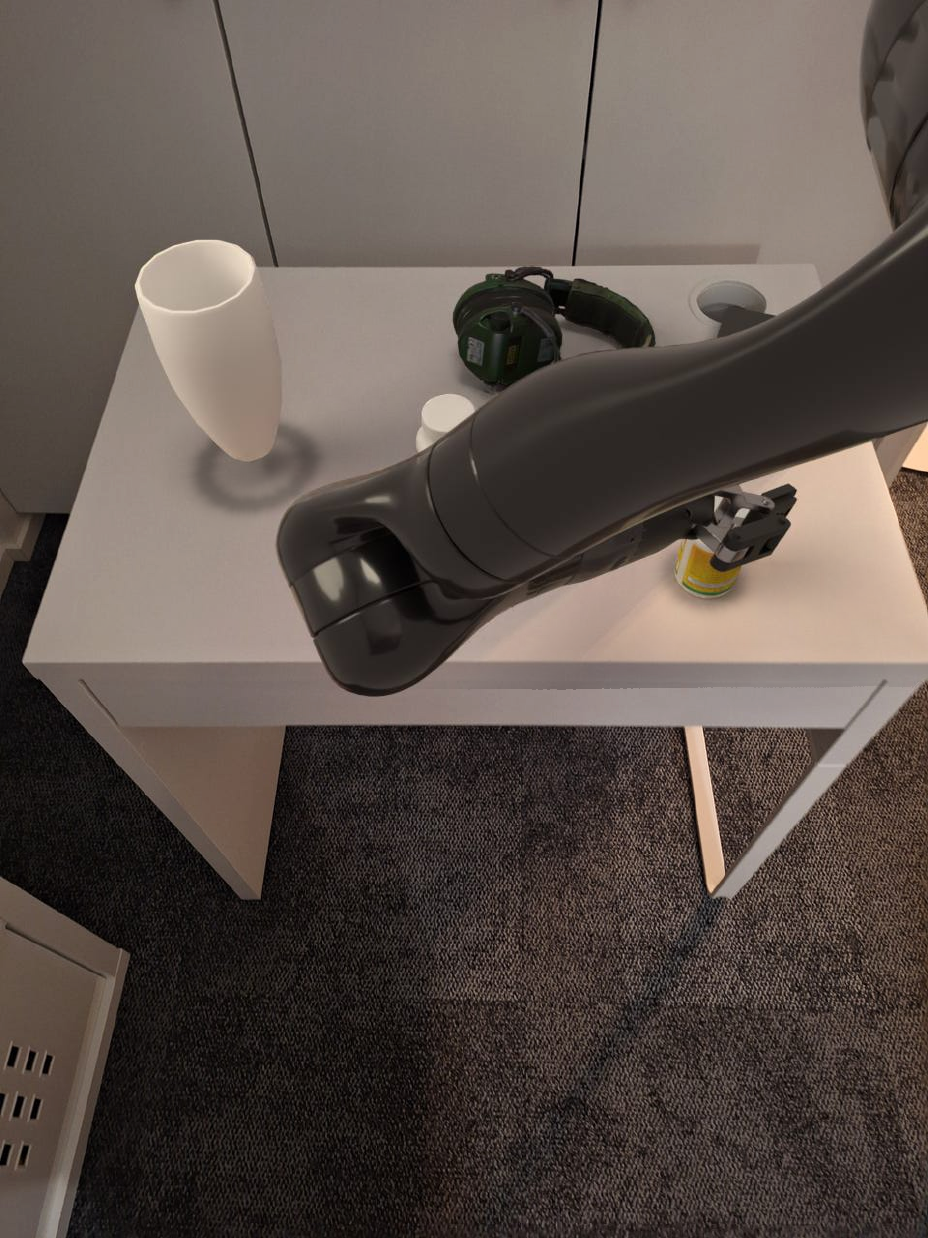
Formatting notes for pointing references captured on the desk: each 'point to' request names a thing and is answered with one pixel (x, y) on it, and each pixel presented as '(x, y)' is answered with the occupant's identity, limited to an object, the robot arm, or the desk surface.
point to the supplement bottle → (703, 567)
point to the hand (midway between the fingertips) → (740, 461)
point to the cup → (216, 341)
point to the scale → (740, 320)
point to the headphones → (536, 322)
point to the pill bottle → (441, 418)
